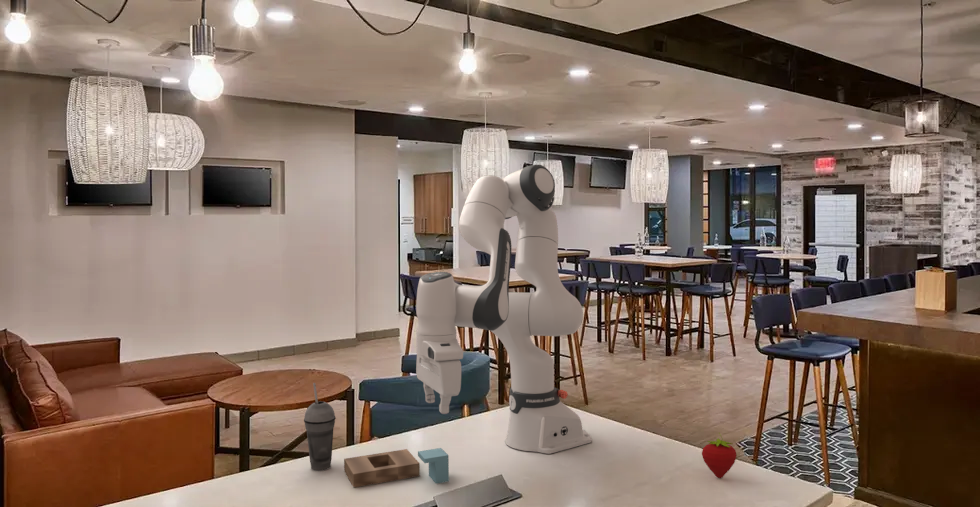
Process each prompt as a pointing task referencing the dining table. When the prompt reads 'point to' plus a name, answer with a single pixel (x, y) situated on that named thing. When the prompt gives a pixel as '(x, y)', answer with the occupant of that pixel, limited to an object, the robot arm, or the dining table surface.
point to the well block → (381, 467)
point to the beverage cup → (320, 433)
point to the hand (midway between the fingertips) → (436, 407)
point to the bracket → (436, 464)
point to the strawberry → (719, 457)
